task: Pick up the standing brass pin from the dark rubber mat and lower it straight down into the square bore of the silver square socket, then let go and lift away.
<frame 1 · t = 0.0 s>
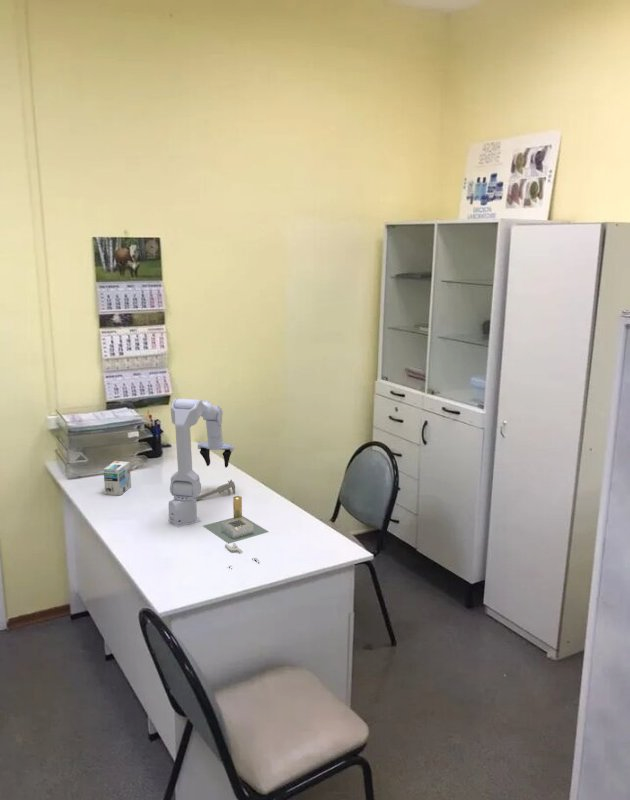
hand: (217, 465, 272), 11 cm above the table, tool pointing down, fingers open, 7 cm apart
light bulb box: (118, 491, 273), on the table
pliers: (237, 557, 217), on the table
pin: (237, 521, 243), resting on mat
silver square socket: (237, 532, 234), resting on mat
mat: (235, 529, 237), on the table
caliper: (211, 499, 266), on the table
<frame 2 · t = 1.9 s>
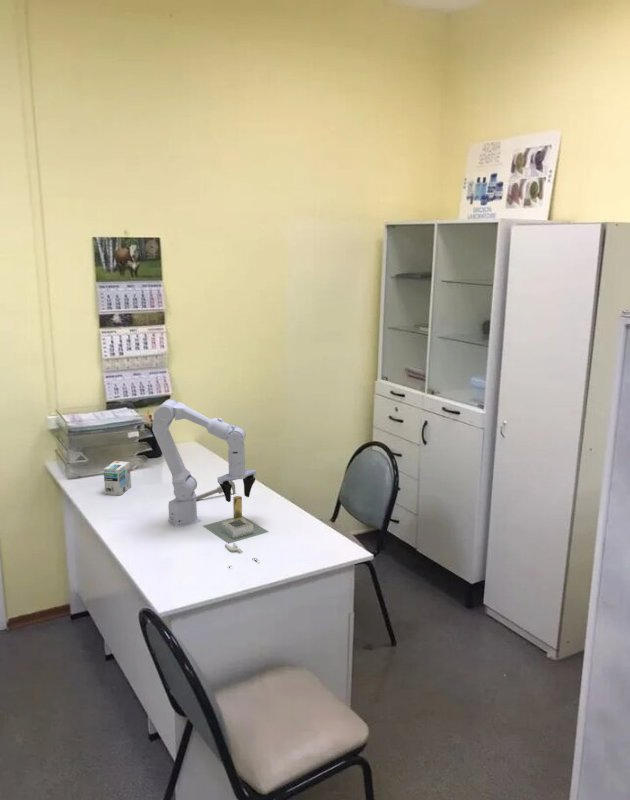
hand: (237, 498, 241), 9 cm above the table, tool pointing down, fingers open, 7 cm apart
nothing on the table moved.
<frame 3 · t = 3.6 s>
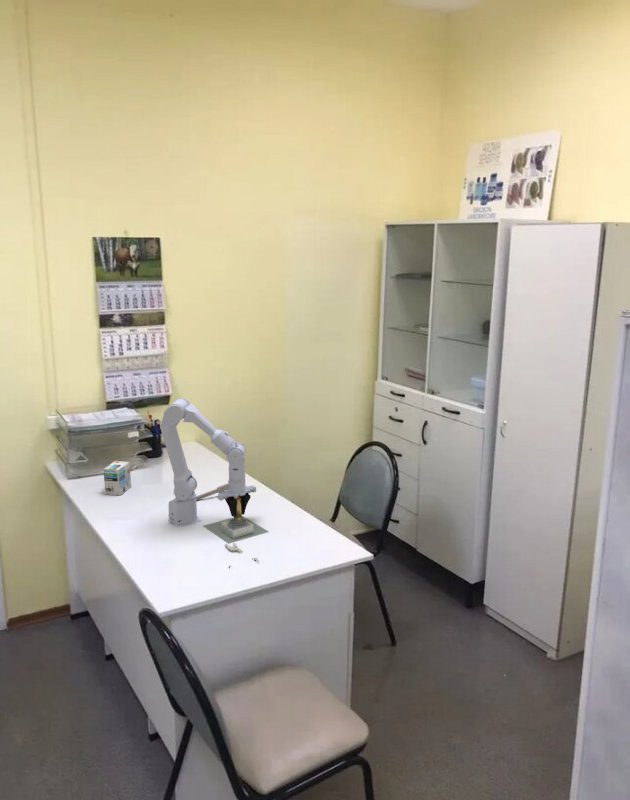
hand: (237, 514, 242), 3 cm above the table, tool pointing down, fingers closed on pin, 3 cm apart
pin: (237, 521, 243), resting on mat, touching gripper
everything else where it was.
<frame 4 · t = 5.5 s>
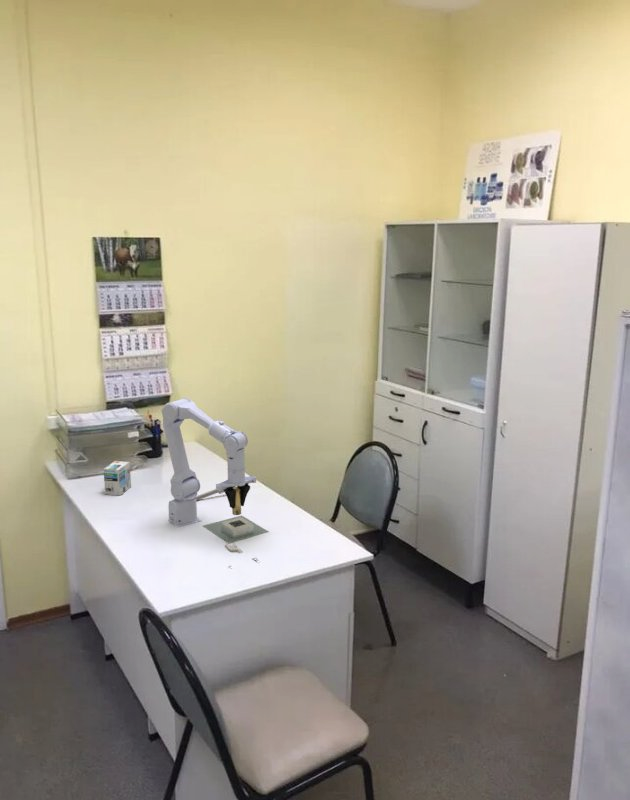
hand: (236, 506, 231), 10 cm above the table, tool pointing down, fingers closed on pin, 3 cm apart
pin: (236, 513, 232), point 7 cm above the table, touching gripper
everything else where it was.
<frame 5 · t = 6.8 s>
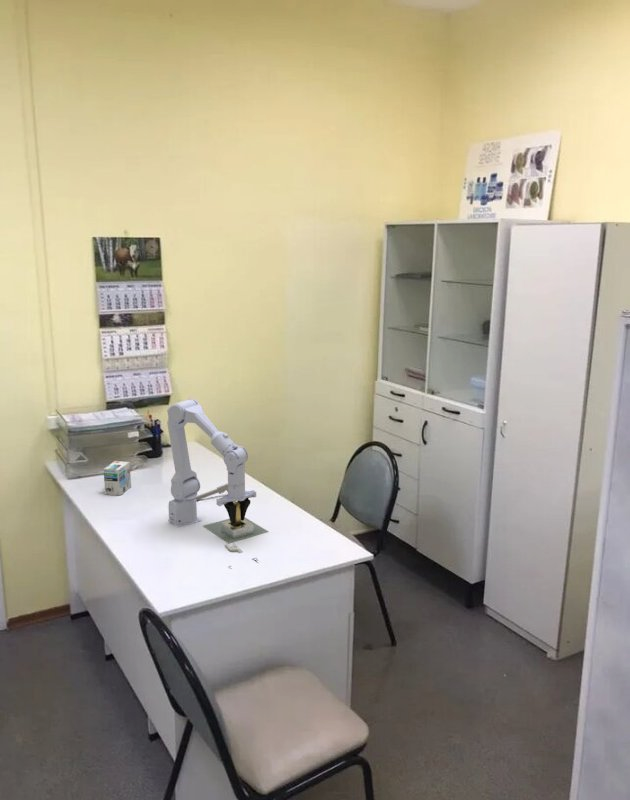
hand: (237, 520, 233), 5 cm above the table, tool pointing down, fingers closed on pin, 3 cm apart
pin: (237, 527, 233), point 2 cm above the table, touching gripper
everything else where it was.
when the fingers open (5 cm above the table, at t = 7.7 s): pin drops 2 cm, resting on mat.
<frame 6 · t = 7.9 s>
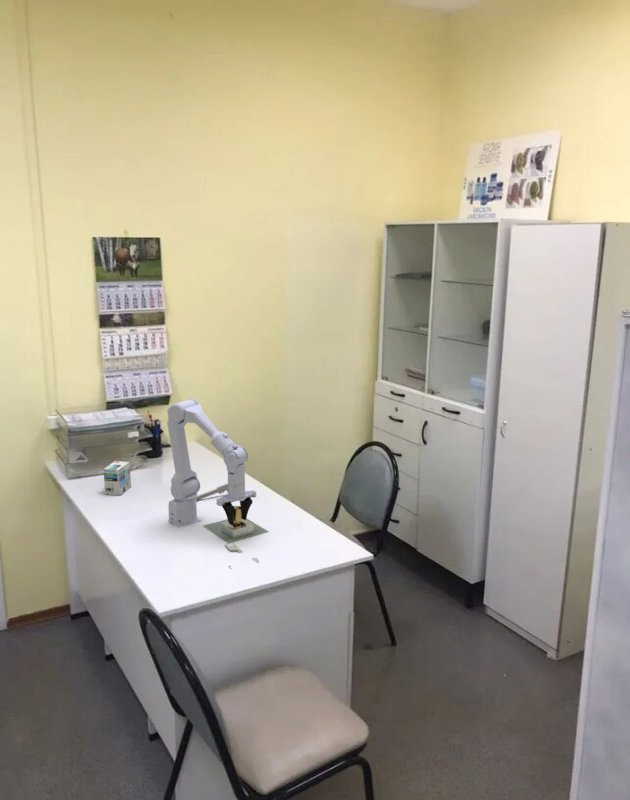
hand: (237, 520, 233), 5 cm above the table, tool pointing down, fingers open, 5 cm apart
pin: (237, 532, 234), resting on mat
everything else where it was.
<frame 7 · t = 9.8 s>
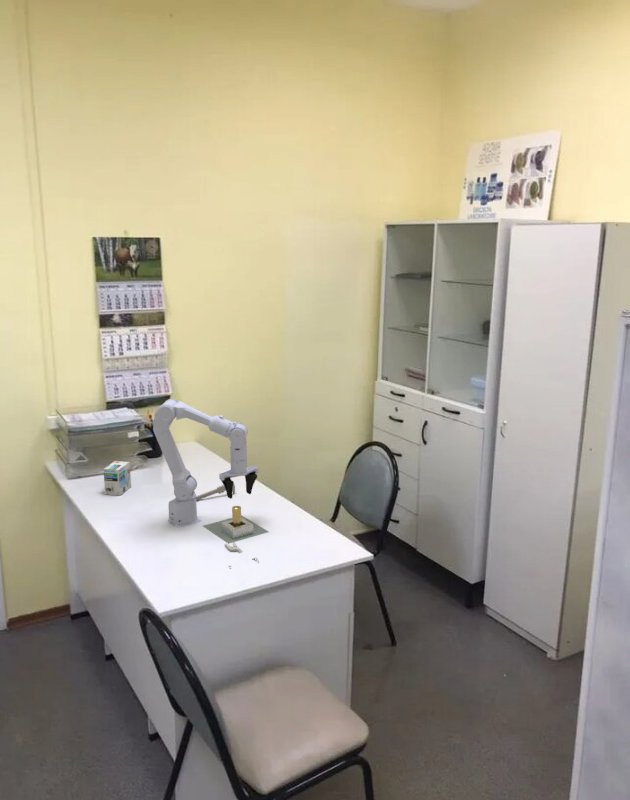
hand: (239, 495, 241), 10 cm above the table, tool pointing down, fingers open, 7 cm apart
nothing on the table moved.
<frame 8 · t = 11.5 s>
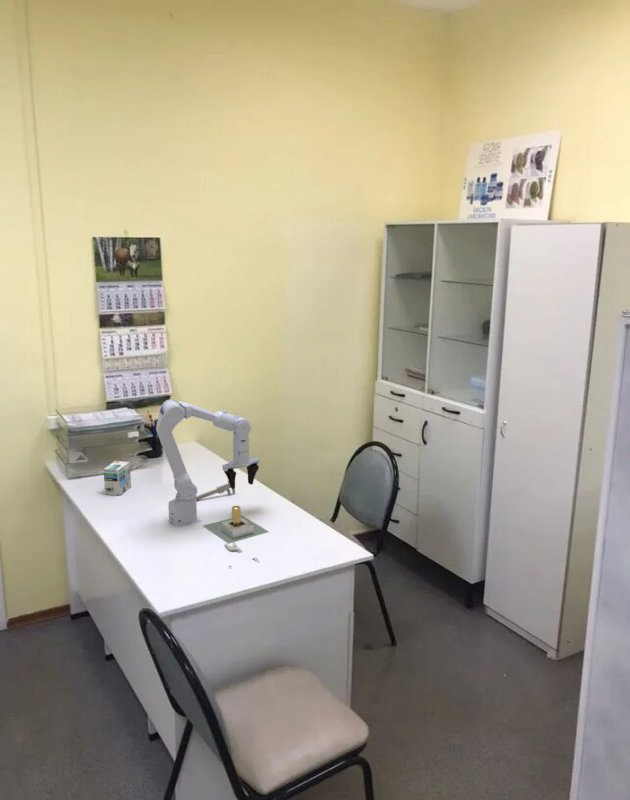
hand: (241, 485, 249), 10 cm above the table, tool pointing down, fingers open, 7 cm apart
nothing on the table moved.
at the end: pin 0.1 cm off-centre on the silver square socket, point 0.0 cm above the silver square socket's base; pin tilted 1°; the gripper is holding nothing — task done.
